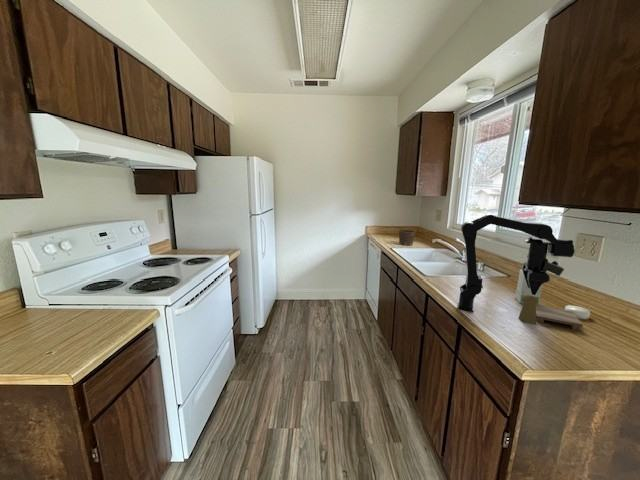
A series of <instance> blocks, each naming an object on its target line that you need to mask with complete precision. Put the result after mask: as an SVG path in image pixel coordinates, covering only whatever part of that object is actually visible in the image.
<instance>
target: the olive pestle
mask: <svg viewBox="0 0 640 480" xmlns="http://www.w3.org/2000/svg"><path fill="white" fill-rule="evenodd" d="M523 302H524V303H522V307H521V310H520V312H519V316H518V320H519V321H521V322H523V323H526V324H531V325H536V324H537V317H536V305H537V304H538V302H539V303H540V300H539V301H538V298H537V297H535V296H531V295H525V296H524V297H523Z"/></svg>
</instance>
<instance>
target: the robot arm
mask: <svg viewBox="0 0 640 480" xmlns="http://www.w3.org/2000/svg"><path fill="white" fill-rule="evenodd" d="M489 225H493V226H499V227H502V228H507V229H511V230H515V231H520V232H523V233H525V234H526V235H530V236H529V237H528V238H526V239H524V240H523V242H524V243H526V244H529V248H528V254H527V255H526V259H527V262H526V261H525V262H522V265H521V270H522V271H523V274H524V277H525V280H526V283H527V286H528V288H530V290H531V293H532V295H536V293H537V291H538V289H539V288H540V286H541V284H542V285H543V284H546V283H548V282H550V278H551V277H550V275H549V274H548V273H547V272H550V273H552V274H554V275H556V276H558V277H560V276H561V275H562V274H563V272H564V271H565V268H564V267H563V266H560V265H559V263H558V261H556V260H551V261H549V259H548V258H547V256H548V255H547V254H550V256H551V257H563V258H572V257H573V256H574V255H575V250H576V249H575V246H574V240H573V239H559V238H557V237H555V235H554V234H553V228H552V226H550V225H548V224H545V223H541V222H527V221H520V220H515V219H511V218H506V217H503V216H496V215H493V214H491V213H487V214H484V215H482V216H481V217H479V218H476V219H474V220H471V221H465V222H464V223H462V224H461V227H460V230H461V234H462V237H463V240H464V244H465V246H464V247H465V257H466V272H467V273H466V278H465V283H464V284H462V285H460V286H459V291H460V293H459V299H458V302H457V306H456V308H457V310H463V311H468V312H472V313H474V311H475V310H474V309H475V306H474V300H475V298H476V296H477V295H479V294H480V293H482V289H484V286H483V278H482V276H481V275H478V269H477V254H476V239H477V234H478V231H480V230H482V229H484V228H485V227H487V226H489ZM531 236H532V237H531ZM533 237H535V238H536V239H535V238H533ZM543 240H545V241H543Z"/></svg>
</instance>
